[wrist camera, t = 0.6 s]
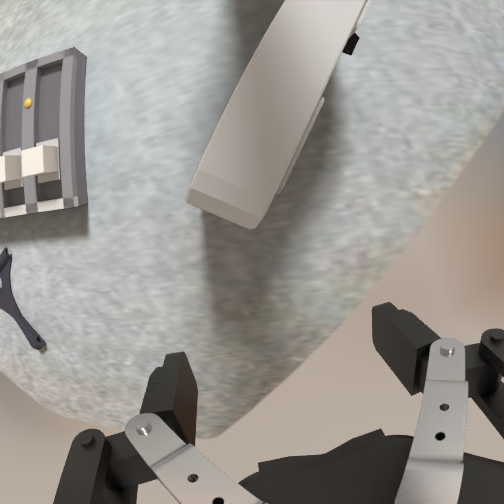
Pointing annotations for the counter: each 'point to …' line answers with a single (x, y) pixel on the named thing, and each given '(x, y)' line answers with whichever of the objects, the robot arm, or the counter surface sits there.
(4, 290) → the bracket
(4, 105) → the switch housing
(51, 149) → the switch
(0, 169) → the switch middle
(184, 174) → the counter surface
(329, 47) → the grey block
